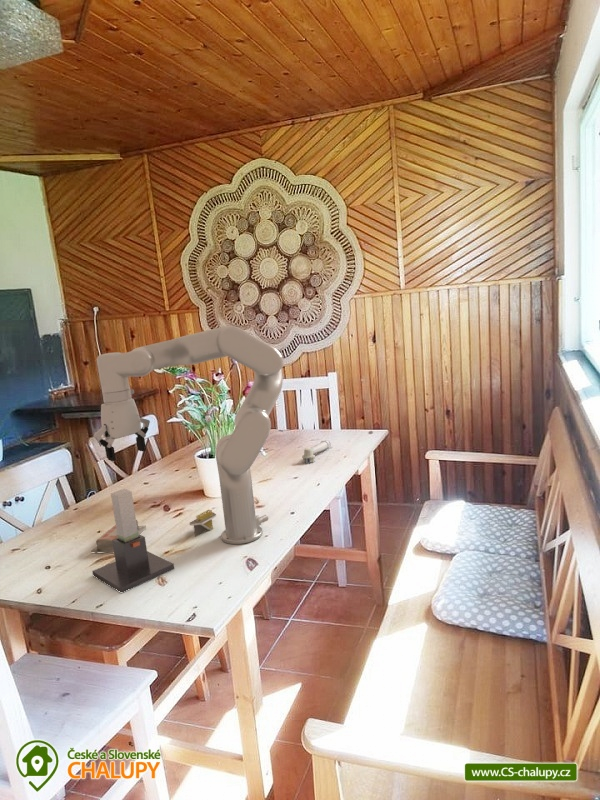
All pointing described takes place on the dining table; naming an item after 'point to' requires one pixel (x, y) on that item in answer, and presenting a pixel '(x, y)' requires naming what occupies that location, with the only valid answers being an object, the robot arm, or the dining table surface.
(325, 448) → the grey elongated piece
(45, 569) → the dining table surface
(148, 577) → the stand housing
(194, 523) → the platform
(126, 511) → the column
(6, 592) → the dining table surface
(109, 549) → the packaged product
